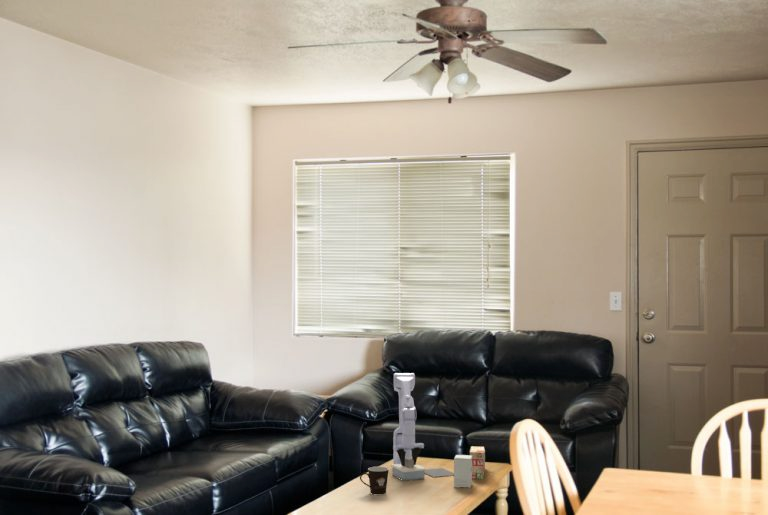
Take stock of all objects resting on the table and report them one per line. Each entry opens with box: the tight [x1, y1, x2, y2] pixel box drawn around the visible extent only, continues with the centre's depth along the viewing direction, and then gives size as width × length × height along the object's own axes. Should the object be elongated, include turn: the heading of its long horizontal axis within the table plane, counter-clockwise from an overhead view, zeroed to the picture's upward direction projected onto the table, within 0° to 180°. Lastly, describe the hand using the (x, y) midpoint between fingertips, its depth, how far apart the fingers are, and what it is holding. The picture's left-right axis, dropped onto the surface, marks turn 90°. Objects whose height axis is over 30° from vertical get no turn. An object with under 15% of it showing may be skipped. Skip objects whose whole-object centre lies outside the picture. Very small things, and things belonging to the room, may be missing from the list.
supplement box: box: [453, 454, 473, 488], centre depth 385 cm, size 7×7×13 cm
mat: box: [424, 467, 454, 478], centre depth 408 cm, size 14×12×1 cm
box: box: [392, 467, 425, 482], centre depth 400 cm, size 12×10×4 cm
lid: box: [391, 457, 426, 472], centre depth 400 cm, size 13×11×5 cm
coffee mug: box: [359, 466, 390, 495], centre depth 372 cm, size 12×9×10 cm
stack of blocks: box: [469, 445, 486, 479], centre depth 408 cm, size 21×6×12 cm, turn 172°
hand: (408, 465), depth 400 cm, fingers open, 5 cm apart
